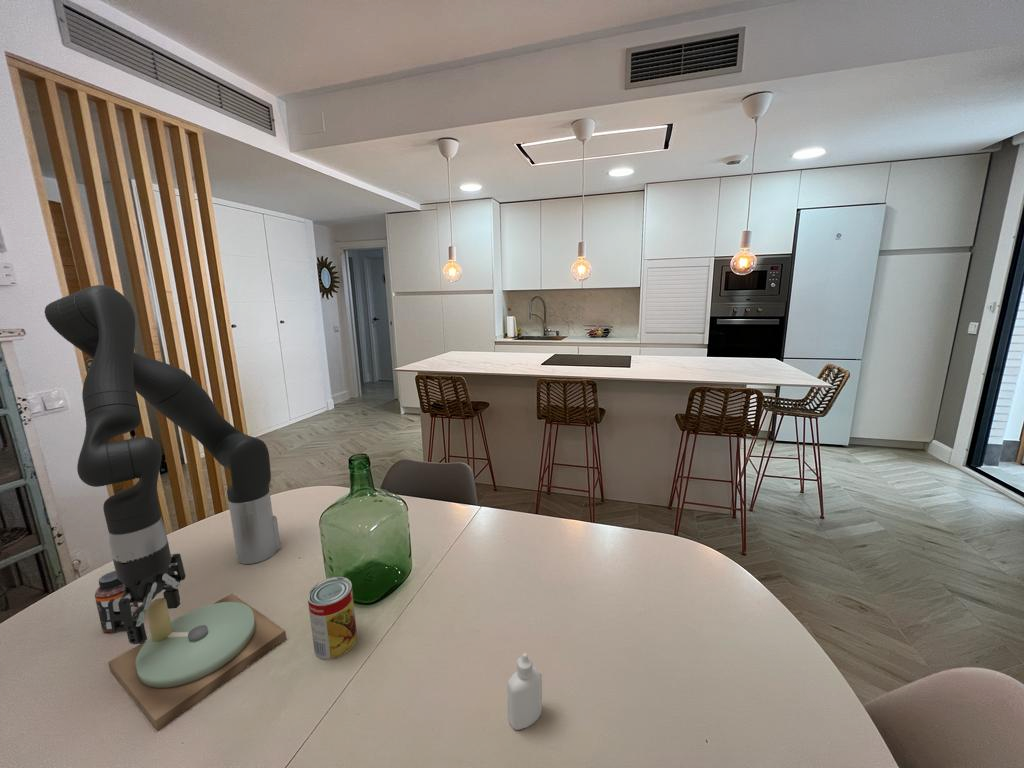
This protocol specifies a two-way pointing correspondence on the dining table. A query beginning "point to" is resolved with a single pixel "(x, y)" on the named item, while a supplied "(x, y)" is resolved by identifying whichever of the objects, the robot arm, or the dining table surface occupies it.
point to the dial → (192, 642)
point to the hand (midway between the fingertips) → (157, 624)
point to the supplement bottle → (109, 598)
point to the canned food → (332, 617)
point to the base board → (176, 700)
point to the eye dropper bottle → (524, 694)
